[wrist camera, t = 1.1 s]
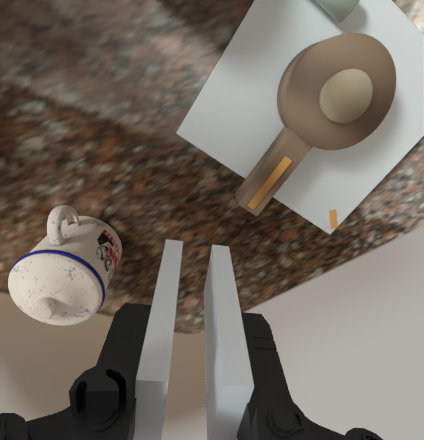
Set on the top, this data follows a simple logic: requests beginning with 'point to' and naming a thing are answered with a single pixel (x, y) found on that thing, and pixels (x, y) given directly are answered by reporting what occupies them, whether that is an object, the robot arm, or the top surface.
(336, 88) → the brown lidded pan
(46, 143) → the top surface
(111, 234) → the teacup with lid
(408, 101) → the white flat board
